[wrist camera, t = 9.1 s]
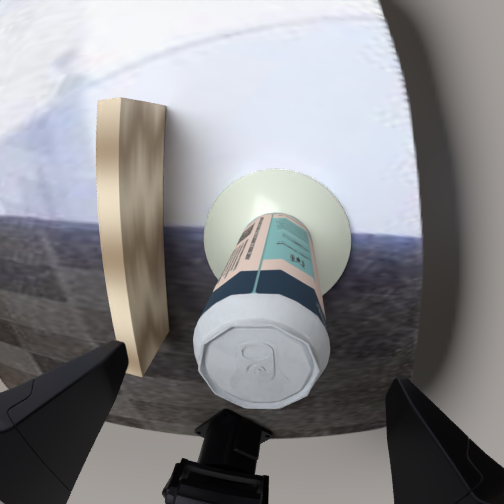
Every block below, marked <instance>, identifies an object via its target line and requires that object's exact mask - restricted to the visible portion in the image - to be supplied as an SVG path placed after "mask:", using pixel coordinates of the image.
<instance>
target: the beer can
mask: <svg viewBox="0 0 504 504" xmlns="http://www.w3.org/2000/svg"><path fill="white" fill-rule="evenodd" d="M193 345H194V354H195V357H196V360H197V364H198V366H199V367H198V371H199V372H200V374H201V375H202V377H203V378H204V380H205V381H206V383H207V384H208V385H209V387H210V388H211V390H212V391H213V392H214V394H215V395H217V396H220V397H222V398H224V399H226V400H228V401H230V402H232V403H234V404H236V405H239V406H241V407H243V408H250V409H280V408H282V407H284V406H287V405H289V404H291V403H293V402H295V401H297V400H299V399H301V398H304V397H306V396H307V395H308V393H309V391H310V390H311V388H312V386H313V385H314V383H315V382H316V381H317V379H318V378H319V377H320V375H321V374H322V372H323V371H324V369H325V368H326V366H327V363H328V359H329V355H330V342H329V337H328V331H327V324H326V317H325V311H324V305H323V299H322V293H321V287H320V281H319V275H318V269H317V264H316V259H315V253H314V248H313V241H312V238H311V235H310V233H309V231H308V229H307V228H306V226H305V225H304V224H303V223H302V222H301V221H299V220H298V219H296V218H295V217H293V216H291V215H288V214H285V213H276V212H273V213H267V214H263V215H261V216H259V217H257V218H255V219H254V220H253V221H252V222H250V223H249V224H248V225H247V227H246V228H245V229H244V231H243V233H242V235H241V237H240V239H239V241H238V243H237V245H236V247H235V249H234V251H233V253H232V255H231V257H230V259H229V261H228V263H227V265H226V267H225V269H224V271H223V273H222V274H221V276H220V278H219V280H218V282H217V284H216V286H215V288H214V290H213V292H212V294H211V296H210V298H209V300H208V302H207V304H206V306H205V308H204V310H203V313H202V315H201V317H200V319H199V321H198V323H197V325H196V328H195V331H194V337H193Z"/></svg>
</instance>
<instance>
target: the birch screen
mask: <svg viewBox="0 0 504 504" xmlns="http://www.w3.org/2000/svg"><path fill="white" fill-rule="evenodd" d="M165 112H166V106H165V105H160V104H155V103H150V102H144V101H139V100H133V99H127V98H113V99H105V100H99V101H98V108H97V129H96V181H97V203H98V218H99V230H100V240H101V250H102V258H103V266H104V273H105V280H106V287H107V293H108V299H109V305H110V310H111V315H112V321H113V326H114V330H115V335H116V340H118V341H121V342H124V343H125V345H126V349H127V354H128V358H129V365H128V368H127V371H126V373H129V374H133V375H136V376H140V377H143V375H144V373H145V372H146V370H147V368H148V367H149V365H150V363H151V361H152V360H153V358H154V356H155V355H156V353H157V351H158V349H159V348H160V346H161V344H162V343H163V341H164V339H165V337H166V336H167V334H168V332H169V321H168V309H167V296H166V280H165V261H164V234H163V157H164V131H165Z"/></svg>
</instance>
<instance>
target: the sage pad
mask: <svg viewBox="0 0 504 504" xmlns="http://www.w3.org/2000/svg"><path fill="white" fill-rule="evenodd" d="M273 212H276V213H285V214H288V215H291V216H293V217H295V218H296V219H298V220H299V221H301V222H302V223H303V224H304V225H305V226H306V228H307V229H308V231H309V233H310V235H311V238H312V241H313V248H314V253H315V259H316V264H317V269H318V275H319V281H320V287H321V293H322V295H324V294H325V293H326V292H327V291H328V290H329V289H331V288H332V286H333V285H334V284H335V283H336V282H337V281H338V279H339V278H340V276H341V275H342V273H343V271H344V269H345V267H346V264H347V262H348V259H349V254H350V249H351V233H350V227H349V223H348V219H347V217H346V214H345V212H344V210H343V208H342V206H341V204H340V203H339V201H338V200H337V199H336V197H335V196H334V195H333V194H332V192H331V191H329V190H328V189H327V188H326V187H325V186H324V185H323V184H321V183H320V182H319V181H317V180H316V179H314V178H312V177H310V176H308V175H306V174H303V173H301V172H297V171H293V170H288V169H266V170H260V171H256V172H253V173H250V174H248V175H246V176H243V177H241V178H240V179H238V180H237V181H235V182H234V183H232V184H231V185H230V186H228V187H227V188H226V189H225V190H224V191H223V192H222V193H221V194H220V195H219V197H218V198H217V199H216V201H215V202H214V204H213V205H212V207H211V209H210V212H209V214H208V216H207V220H206V223H205V229H204V247H205V253H206V257H207V260H208V263H209V265H210V268H211V269H212V271H213V273H214V275H215V276H216V277H217V279H218V280H219V278H220V276H221V274H222V273H223V271H224V269H225V267H226V265H227V263H228V261H229V259H230V257H231V255H232V253H233V251H234V249H235V247H236V245H237V243H238V241H239V239H240V237H241V235H242V233H243V231H244V229H245V228H246V227H247V225H248V224H249V223H250V222H252V221H253V220H254V219H255V218H257V217H259V216H261V215H263V214H267V213H273Z"/></svg>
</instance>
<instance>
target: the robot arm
mask: <svg viewBox="0 0 504 504" xmlns="http://www.w3.org/2000/svg"><path fill="white" fill-rule="evenodd" d="M128 365H129V358H128V354H127V349H126V345H125V343H124V342H121V341H118V340H112V341H110V342H108V343H106V344H104V345H102V346H100V347H98V348H96V349H94V350H91V351H89V352H87V353H85V354H83V355H81V356H79V357H77V358H75V359H73V360H71V361H69V362H67V363H65V364H63V365H61V366H59V367H57V368H55V369H53V370H51V371H48V372H46V373H44V374H42V375H40V376H38V377H36V378H35V379H32V380H30V381H27V382H25V383H23V384H21V385H19V386H16V387H14V388H11V389H9V390H7V391H4V392H1V393H0V504H66V503H67V501H68V499H69V496H70V494H71V492H70V491H72V489H73V487H74V485H75V482H76V480H77V478H78V476H79V474H80V472H81V469H82V467H83V465H84V463H85V461H86V458H87V457H88V454H89V452H90V450H91V448H92V446H93V444H94V442H95V440H96V438H97V436H98V433H99V432H100V430H101V428H102V426H103V423H104V422H105V420H106V418H107V416H108V414H109V412H110V410H111V408H112V406H113V404H114V402H115V399H116V397H117V394H118V392H119V389H120V386H121V384H122V381H123V378H124V376H125V373H126V371H127V368H128ZM385 403H386V425H387V441H388V449H389V457H390V464H391V473H392V482H393V493H394V504H504V468H503V467H502V466H501V465H499V464H498V463H497V462H496V461H494V460H493V459H492V458H490V456H488V455H487V454H486V453H485V452H484V451H483V450H481V449H480V448H479V447H478V446H477V445H476V444H475V443H474V442H473V441H472V440H471V439H469V438H468V436H467V435H466V434H465V433H464V432H463V431H462V430H461V429H460V428H459V427H458V426H456V424H454V423H453V422H452V421H451V420H450V419H449V418H448V417H447V416H446V415H445V414H444V413H443V412H442V411H441V410H440V409H439V408H438V407H437V406H436V405H435V404H434V403H433V402H432V401H431V400H430V399H428V397H426V396H425V395H424V394H423V393H422V392H421V391H420V390H419V389H418V388H417V387H416V386H415V385H414V384H413V383H412V382H411V381H410V380H409V379H407V378H395V379H394V380H393V382H392V384H391V386H390V388H389V390H388V392H387V394H386V398H385ZM195 433H196V434H198V435H199V436H201V437H203V438H204V441H203V445H202V448H201V451H200V455H199V458H198V462H193V461H189V460H187V459H185V458H182V460H181V462H180V463H176V464H175V467H174V470H173V473H172V476H171V478H170V479H169V481H168V482H167V484H166V486H165V487H164V489H163V491H162V495H163V497H164V498H165V503H166V504H268V493H269V476H267V475H263V476H261V475H255V470H256V463H257V460H258V456H259V449H260V444H261V443H263V442H265V441H267V440H268V439H270V438H272V432H270V431H268V430H266V429H264V428H262V427H260V426H258V425H256V424H254V423H252V422H250V421H248V420H246V419H244V418H242V417H241V416H239V415H237V414H235V413H233V412H231V411H230V410H227V409H223V410H222V411H220V412H219V413H217V414H216V415H215V416H213V417H212V418H210V419H209V420H207V421H206V422H205V423H203V424H202V425H200V426H199V427H197V428H196V429H195Z"/></svg>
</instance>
